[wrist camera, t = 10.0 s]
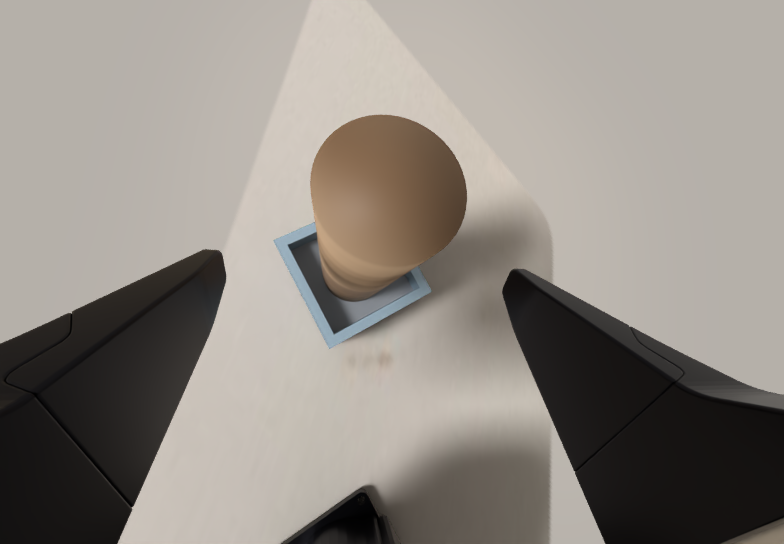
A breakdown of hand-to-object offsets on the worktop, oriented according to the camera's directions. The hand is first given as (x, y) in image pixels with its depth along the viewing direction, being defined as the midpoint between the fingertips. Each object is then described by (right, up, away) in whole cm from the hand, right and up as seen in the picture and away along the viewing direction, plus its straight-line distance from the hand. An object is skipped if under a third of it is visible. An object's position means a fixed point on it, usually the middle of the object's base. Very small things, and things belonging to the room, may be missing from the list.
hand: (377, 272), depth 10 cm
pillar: (-2, 0, +11) cm, 11 cm away
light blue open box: (-2, 0, +13) cm, 13 cm away
